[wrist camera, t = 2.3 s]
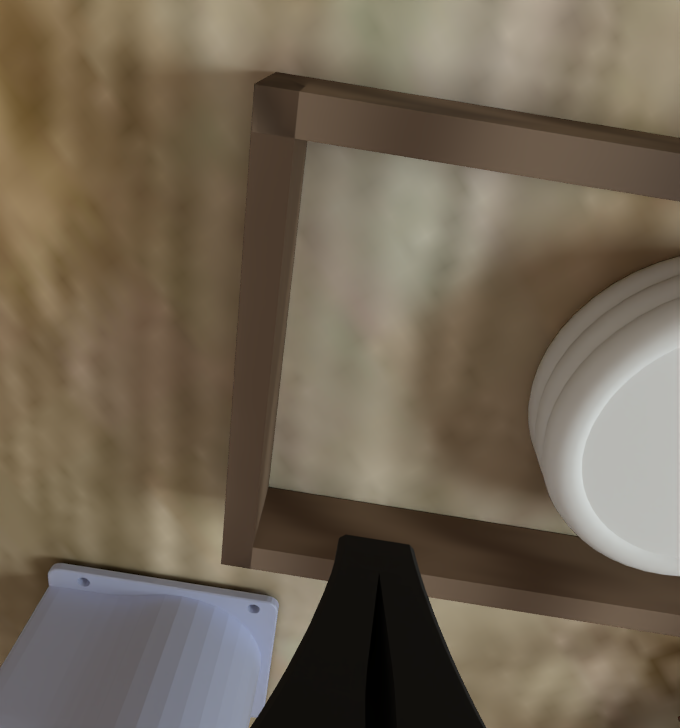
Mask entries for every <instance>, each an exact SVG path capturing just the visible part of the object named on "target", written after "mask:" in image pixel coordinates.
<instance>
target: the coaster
mask: <svg viewBox="0 0 680 728" xmlns="http://www.w3.org/2000/svg"><path fill="white" fill-rule="evenodd" d="M528 424H529V431H530V437H531V441H532V444H533V447H534V450H535V453H536V455H537V459H538V462H539V466H540V469H541V472H542V474H543V476H544V481H545V484H546V487H547V490H548V494H549V497H550V498H551V500H552V502H553V504H554V506H555V508H556V510H557V511H558V513H559V514H560V515H561V517H562V518H563V519H564V521H565V522H566V523H567V525H568V526H569V527H570V528H571V529H572V530H573V531H574V532H575V533H576V534H577V535H578V536H579V537H580V538H581V539H582V540H583V541H584V542H585V543H587V544H588V545H589V546H591V547H592V548H593V549H595V550H596V551H598V552H599V553H601V554H603V555H605V556H606V557H608V558H610V559H612V560H614V561H617V562H619V563H621V564H624V565H626V566H629V567H632V568H636V569H639V570H642V571H646V572H652V573H657V574H662V575H672V576H680V256H679V257H676V258H672V259H669V260H665V261H662V262H658V263H656V264H653V265H651V266H649V267H646V268H644V269H641V270H639V271H636V272H634V273H632V274H630V275H629V276H627V277H625V278H623V279H621V280H620V281H618V282H616V283H614V284H612V285H611V286H610V287H608V288H607V289H605V290H604V291H602V292H601V293H600V294H598V295H597V296H595V297H594V298H593V299H591V300H590V301H589V302H588V303H587V304H586V305H584V306H583V307H582V308H581V309H580V310H579V311H578V312H576V313H575V314H574V315H573V317H572V318H571V319H570V320H569V321H568V322H567V323H566V324H565V325H564V326H563V328H562V329H561V330H560V331H559V333H558V334H557V335H556V337H555V338H554V340H553V341H552V343H551V344H550V345H549V347H548V349H547V351H546V352H545V354H544V356H543V358H542V360H541V362H540V364H539V366H538V369H537V372H536V375H535V378H534V381H533V384H532V389H531V394H530V400H529V405H528Z"/></svg>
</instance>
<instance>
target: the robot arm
mask: <svg viewBox="0 0 680 728" xmlns="http://www.w3.org/2000/svg"><path fill="white" fill-rule="evenodd" d="M48 582H49V587H48V588H47V590H46V592H45V593H44V595H43V597H42V599H41V600H40V602H39V604H38V605H37V607H36V609H35V610H34V612H33V614H32V615H31V617H30V619H29V620H28V622H27V624H26V625H25V627H24V629H23V630H22V632H21V634H20V635H19V637H18V639H17V641H16V642H15V644H14V646H13V647H12V649H11V651H10V652H9V654H8V656H7V657H6V659H5V661H4V662H3V664H2V666H1V667H0V728H248V727H249V722H250V717H257V718H256V720H255V721H254V723H253V724H252V726H251V727H250V728H486V727H485V725H484V723H483V721H482V719H481V717H480V715H479V713H478V711H477V709H476V707H475V705H474V703H473V701H472V699H471V697H470V695H469V693H468V691H467V689H466V687H465V685H464V683H463V681H462V678H461V676H460V674H459V672H458V670H457V668H456V665H455V663H454V661H453V659H452V656H451V654H450V652H449V649H448V647H447V644H446V642H445V640H444V637H443V635H442V632H441V630H440V627H439V625H438V622H437V620H436V617H435V615H434V612H433V609H432V607H431V604H430V601H429V598H428V595H427V592H426V590H425V586H424V583H423V580H422V577H421V574H420V571H419V567H418V564H417V560H416V556H415V552H414V549H413V548H412V547H411V546H410V545H409V544H403V543H397V542H391V541H384V540H378V539H372V538H365V537H359V536H353V535H347V534H346V535H344V536H342V537H340V538H339V540H338V545H337V550H336V556H335V561H334V565H333V568H332V572H331V575H330V577H329V580H328V583H327V585H326V588H325V591H324V593H323V596H322V598H321V600H320V602H319V605H318V607H317V609H316V612H315V614H314V616H313V618H312V621H311V623H310V625H309V627H308V629H307V631H306V633H305V635H304V637H303V639H302V641H301V643H300V645H299V646H298V648H297V650H296V652H295V654H294V656H293V658H292V660H291V662H290V663H289V665H288V667H287V669H286V671H285V672H284V674H283V676H282V678H281V679H280V681H279V683H278V685H277V686H276V688H275V690H274V691H273V693H272V695H271V696H270V698H269V699H268V701H267V703H266V704H265V701H266V694H267V687H268V680H269V673H270V665H271V658H272V651H273V644H274V637H275V630H276V622H277V615H278V608H279V604H278V601H277V600H276V599H275V598H273V597H271V596H268V595H261V594H255V593H249V592H242V591H236V590H230V589H223V588H217V587H211V586H204V585H198V584H192V583H185V582H179V581H173V580H167V579H160V578H154V577H148V576H141V575H135V574H129V573H122V572H116V571H110V570H103V569H97V568H91V567H85V566H78V565H72V564H66V563H56V564H54V565H53V566H52V567H51V569H50V570H49V572H48Z"/></svg>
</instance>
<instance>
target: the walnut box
mask: <svg viewBox="0 0 680 728" xmlns="http://www.w3.org/2000/svg"><path fill="white" fill-rule="evenodd" d="M307 141H313V142H319V143H325V144H331V145H337V146H343V147H349V148H355V149H362V150H368V151H374V152H380V153H386V154H392V155H398V156H404V157H411V158H417V159H423V160H429V161H435V162H441V163H447V164H454V165H460V166H466V167H472V168H478V169H484V170H490V171H496V172H503V173H509V174H515V175H521V176H527V177H533V178H539V179H545V180H552V181H558V182H564V183H570V184H576V185H582V186H588V187H595V188H601V189H607V190H613V191H619V192H625V193H631V194H637V195H644V196H650V197H656V198H662V199H668V200H674V201H680V138H676V137H670V136H664V135H658V134H651V133H645V132H639V131H633V130H627V129H621V128H615V127H609V126H603V125H596V124H590V123H584V122H578V121H572V120H566V119H560V118H554V117H548V116H542V115H535V114H529V113H523V112H517V111H511V110H505V109H499V108H493V107H487V106H480V105H474V104H468V103H462V102H456V101H450V100H444V99H438V98H432V97H426V96H419V95H413V94H407V93H401V92H395V91H389V90H383V89H377V88H371V87H364V86H358V85H352V84H346V83H340V82H334V81H328V80H322V79H316V78H309V77H303V76H297V75H291V74H285V73H279V72H276V73H274V74H272V75H270V76H268V77H266V78H265V79H263V80H261V81H259V82H257V83H256V84H254V97H253V112H252V126H251V140H250V155H249V169H248V184H247V198H246V213H245V227H244V241H243V256H242V270H241V285H240V299H239V314H238V328H237V342H236V357H235V371H234V386H233V400H232V415H231V429H230V444H229V458H228V472H227V487H226V501H225V516H224V530H223V545H222V559H221V564H224V565H230V566H237V567H243V568H249V569H256V570H262V571H268V572H274V573H281V574H287V575H293V576H300V577H306V578H312V579H319V580H325V581H328V580H329V577H330V575H331V572H332V568H333V565H334V561H335V556H336V550H337V545H338V540H339V538H340V537H342V536H344V535H346V534H347V535H353V536H359V537H365V538H372V539H378V540H384V541H391V542H397V543H403V544H409V545H410V546H411V547H412V548H413V549H414V552H415V556H416V560H417V564H418V567H419V571H420V574H421V577H422V580H423V583H424V586H425V590H426V592H427V595H428V597H432V598H438V599H445V600H451V601H457V602H463V603H470V604H476V605H482V606H489V607H495V608H501V609H508V610H514V611H520V612H527V613H533V614H539V615H545V616H552V617H558V618H564V619H571V620H577V621H583V622H590V623H596V624H602V625H608V626H615V627H621V628H627V629H634V630H640V631H646V632H653V633H659V634H665V635H671V636H678V637H680V576H672V575H662V574H657V573H652V572H646V571H642V570H639V569H636V568H632V567H629V566H626V565H624V564H621V563H619V562H617V561H614V560H612V559H610V558H608V557H606V556H605V555H603V554H601V553H599V552H598V551H596V550H595V549H593V548H592V547H591V546H589V545H588V544H587V543H585V542H584V541H583V540H582V539H581V538H580V537H576V536H570V535H564V534H557V533H551V532H545V531H538V530H532V529H526V528H520V527H513V526H507V525H501V524H495V523H488V522H482V521H476V520H470V519H463V518H457V517H451V516H444V515H438V514H432V513H426V512H419V511H413V510H407V509H401V508H394V507H388V506H382V505H376V504H369V503H363V502H357V501H350V500H344V499H338V498H332V497H325V496H319V495H313V494H307V493H300V492H294V491H288V490H282V489H275V488H269V487H268V486H269V477H270V468H271V459H272V450H273V441H274V433H275V424H276V415H277V406H278V397H279V388H280V379H281V370H282V361H283V352H284V343H285V334H286V326H287V317H288V308H289V299H290V290H291V281H292V272H293V263H294V254H295V245H296V236H297V227H298V218H299V210H300V201H301V192H302V183H303V174H304V165H305V156H306V147H307Z"/></svg>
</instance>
